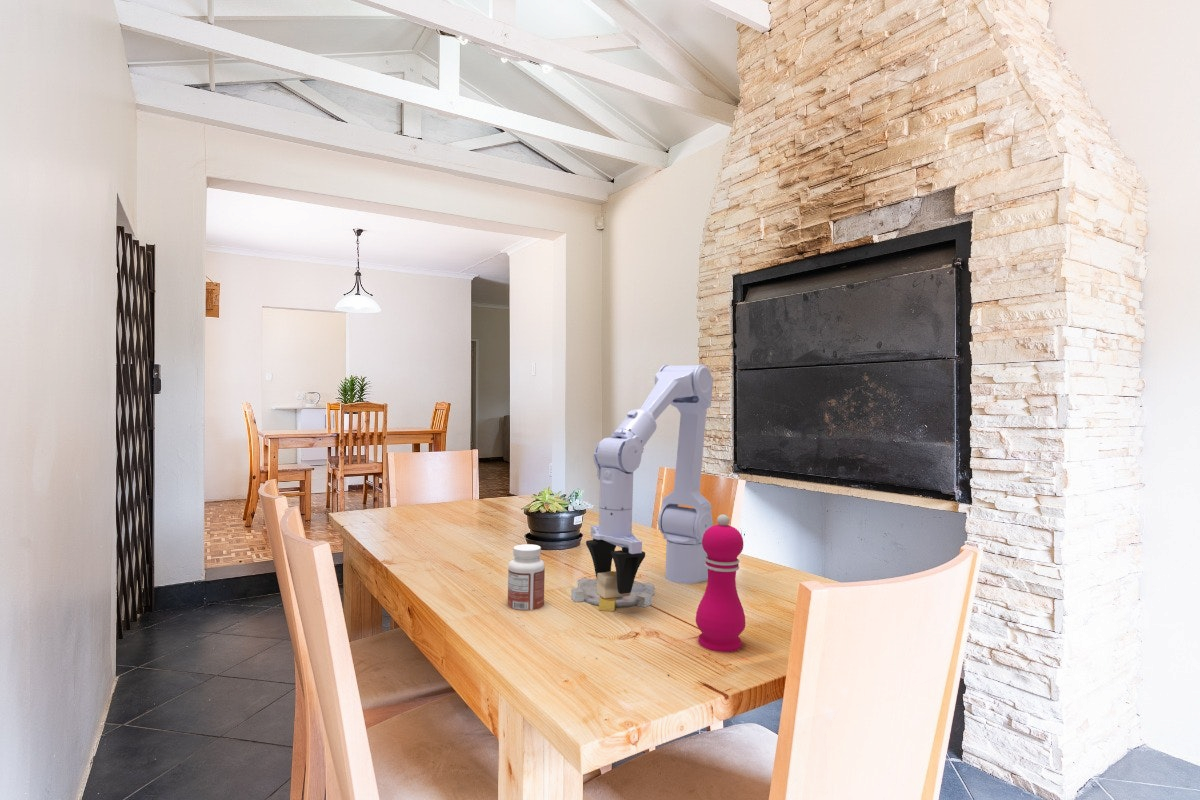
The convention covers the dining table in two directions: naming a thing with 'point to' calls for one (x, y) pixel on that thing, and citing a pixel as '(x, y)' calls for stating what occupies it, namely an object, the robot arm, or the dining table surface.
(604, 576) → the banded wooden block
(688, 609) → the dining table surface
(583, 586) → the sprocket
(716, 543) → the pepper mill
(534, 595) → the pill bottle
